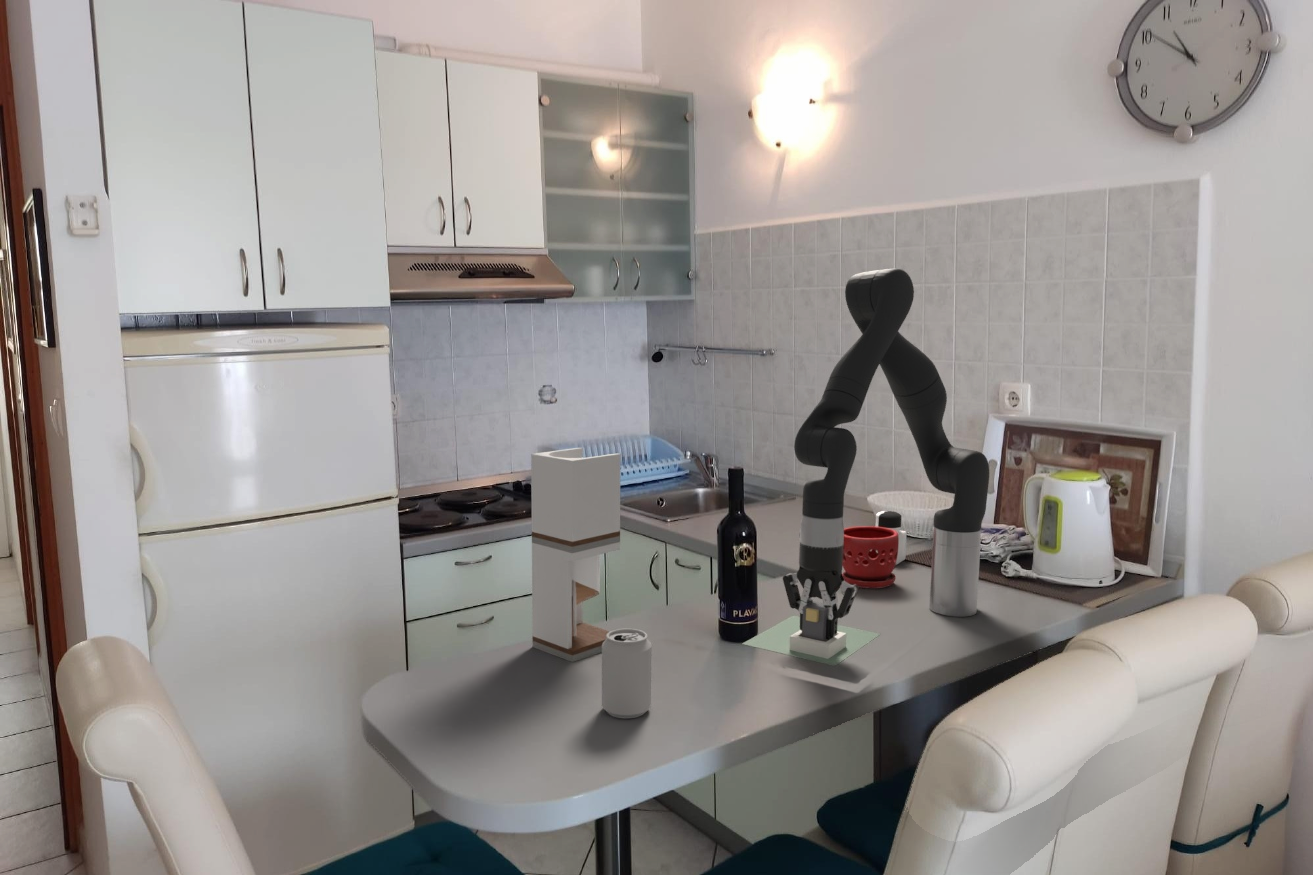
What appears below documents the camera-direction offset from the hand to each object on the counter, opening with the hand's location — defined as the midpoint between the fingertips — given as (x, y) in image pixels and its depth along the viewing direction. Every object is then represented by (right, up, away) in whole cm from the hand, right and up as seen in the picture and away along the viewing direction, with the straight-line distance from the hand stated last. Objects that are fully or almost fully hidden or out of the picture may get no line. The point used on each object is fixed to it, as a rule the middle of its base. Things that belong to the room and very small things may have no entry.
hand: (817, 635), depth 169 cm
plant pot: (+19, +2, +46) cm, 49 cm away
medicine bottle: (+28, +5, +66) cm, 72 cm away
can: (-33, -7, -24) cm, 41 cm away
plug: (0, -2, 0) cm, 2 cm away
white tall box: (-43, -3, +4) cm, 43 cm away
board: (0, -3, +6) cm, 6 cm away
